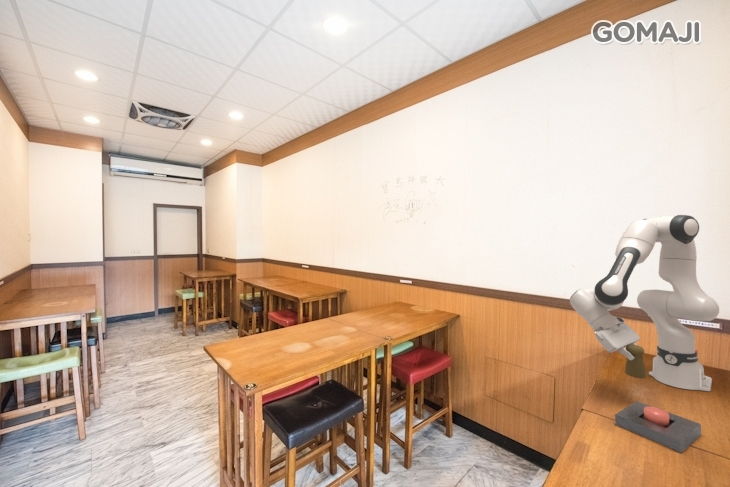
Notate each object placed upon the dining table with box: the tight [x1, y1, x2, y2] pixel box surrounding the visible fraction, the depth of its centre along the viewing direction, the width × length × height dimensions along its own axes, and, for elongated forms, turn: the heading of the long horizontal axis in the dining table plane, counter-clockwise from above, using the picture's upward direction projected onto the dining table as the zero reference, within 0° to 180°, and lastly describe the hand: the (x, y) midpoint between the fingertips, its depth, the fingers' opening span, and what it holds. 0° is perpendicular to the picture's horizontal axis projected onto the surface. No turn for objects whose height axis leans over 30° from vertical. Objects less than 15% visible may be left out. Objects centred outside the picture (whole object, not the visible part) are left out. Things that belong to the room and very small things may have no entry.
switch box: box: [614, 400, 702, 454], centre depth 98 cm, size 16×16×4 cm
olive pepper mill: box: [624, 345, 647, 379], centre depth 113 cm, size 6×6×11 cm
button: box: [644, 405, 670, 428], centre depth 98 cm, size 6×6×4 cm
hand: (637, 357), depth 112 cm, fingers closed on olive pepper mill, 5 cm apart
